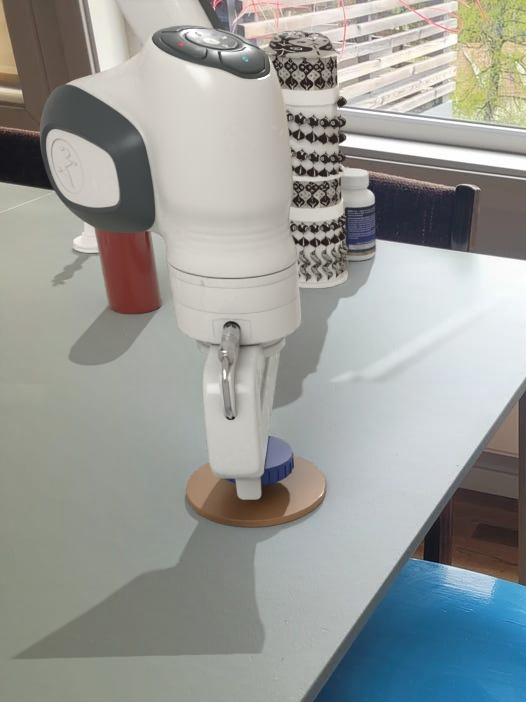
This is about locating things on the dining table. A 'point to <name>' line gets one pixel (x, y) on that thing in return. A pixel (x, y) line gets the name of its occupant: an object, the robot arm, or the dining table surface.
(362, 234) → the pill bottle
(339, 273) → the decorative candle
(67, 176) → the robot arm
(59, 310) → the dining table surface
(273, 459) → the lid
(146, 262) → the jar
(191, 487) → the coaster
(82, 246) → the chess piece
